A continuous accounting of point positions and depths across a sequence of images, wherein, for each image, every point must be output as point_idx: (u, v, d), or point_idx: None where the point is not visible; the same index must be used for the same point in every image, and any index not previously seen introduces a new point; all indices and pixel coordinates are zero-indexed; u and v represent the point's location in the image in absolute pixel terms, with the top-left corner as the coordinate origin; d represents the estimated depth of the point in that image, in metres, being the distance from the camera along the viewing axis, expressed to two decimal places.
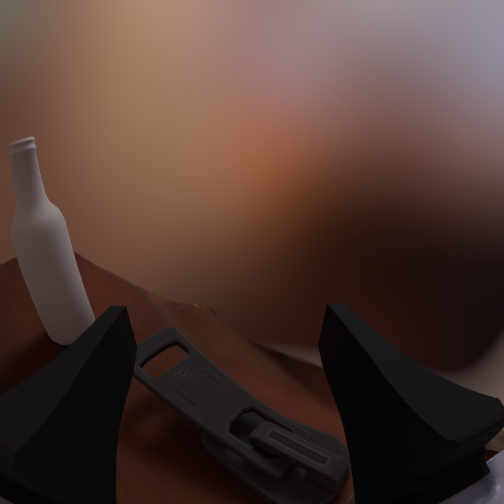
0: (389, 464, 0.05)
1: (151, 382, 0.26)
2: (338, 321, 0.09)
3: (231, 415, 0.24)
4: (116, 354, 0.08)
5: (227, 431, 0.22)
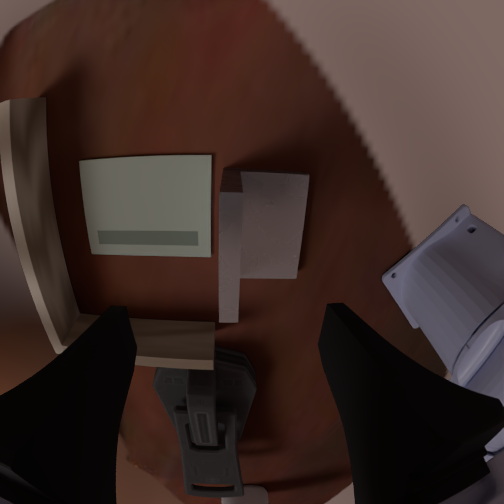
0: (389, 464, 0.05)
1: (238, 484, 0.27)
2: (338, 321, 0.09)
3: (212, 454, 0.25)
4: (116, 354, 0.08)
5: (226, 450, 0.24)
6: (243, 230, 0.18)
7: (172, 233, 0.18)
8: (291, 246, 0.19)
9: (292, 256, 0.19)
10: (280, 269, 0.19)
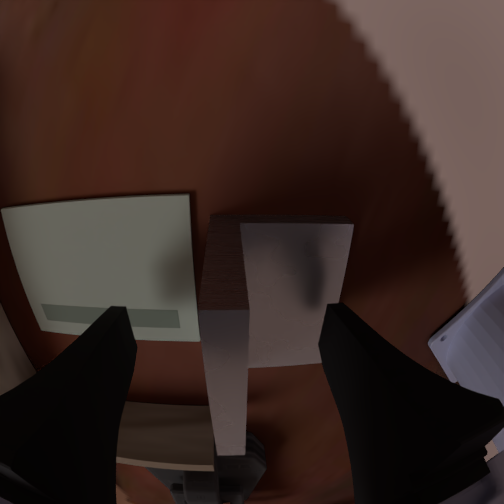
0: (389, 464, 0.05)
1: None
2: (338, 321, 0.09)
3: None
4: (116, 354, 0.08)
5: None
6: None
7: (140, 312, 0.12)
8: (319, 326, 0.12)
9: None
10: (302, 355, 0.13)
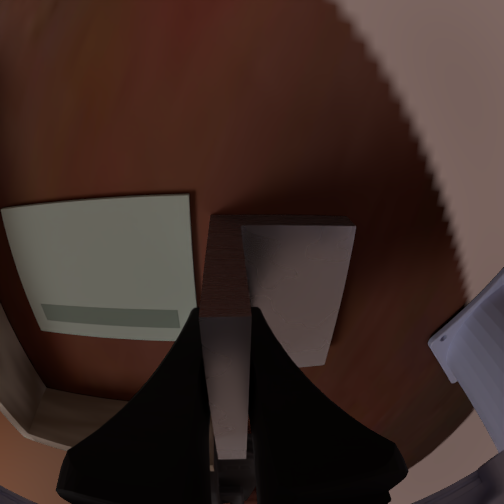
0: (263, 489, 0.05)
1: None
2: None
3: None
4: None
5: None
6: None
7: (140, 312, 0.12)
8: (321, 328, 0.12)
9: (321, 341, 0.12)
10: (303, 357, 0.13)
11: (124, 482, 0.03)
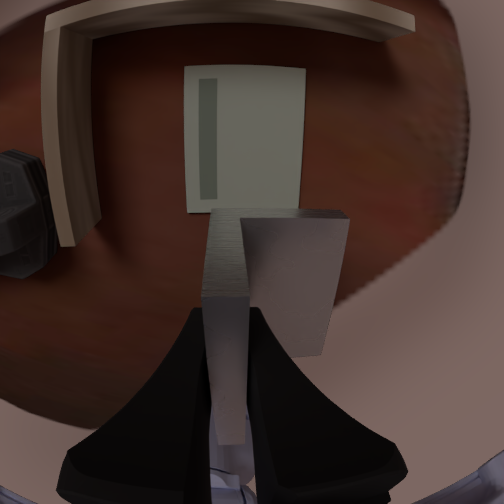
0: (263, 489, 0.05)
1: None
2: None
3: None
4: None
5: None
6: None
7: (214, 171, 0.16)
8: (317, 318, 0.12)
9: (317, 331, 0.13)
10: (300, 347, 0.13)
11: (124, 482, 0.03)
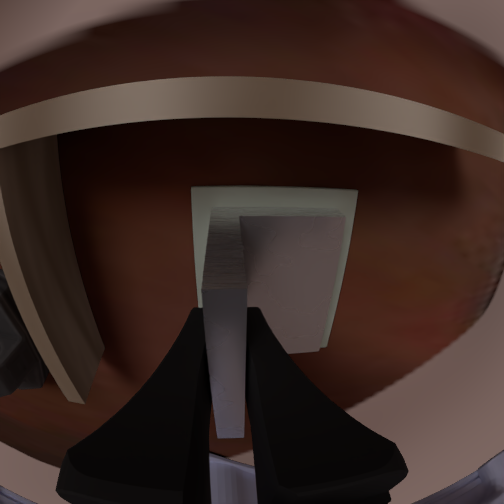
0: (263, 489, 0.05)
1: None
2: None
3: None
4: None
5: None
6: None
7: None
8: (315, 315, 0.13)
9: (315, 327, 0.13)
10: (299, 343, 0.14)
11: (123, 481, 0.03)
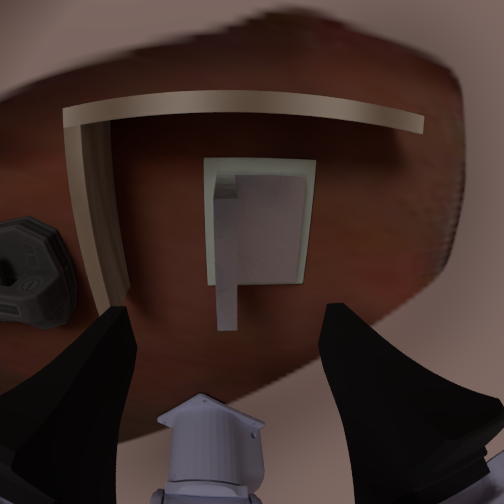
0: (389, 464, 0.05)
1: None
2: (338, 321, 0.09)
3: None
4: (116, 354, 0.08)
5: None
6: (239, 234, 0.18)
7: None
8: (289, 249, 0.18)
9: (290, 259, 0.19)
10: (279, 273, 0.19)
11: None
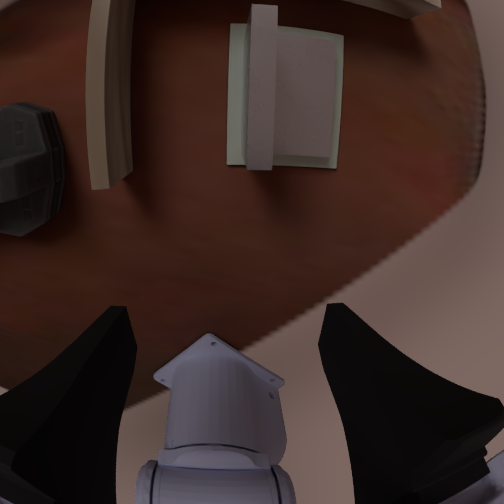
0: (389, 464, 0.05)
1: None
2: (338, 321, 0.09)
3: None
4: (116, 354, 0.08)
5: None
6: None
7: None
8: (322, 115, 0.15)
9: (324, 128, 0.15)
10: (312, 144, 0.15)
11: None
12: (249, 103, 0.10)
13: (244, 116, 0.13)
